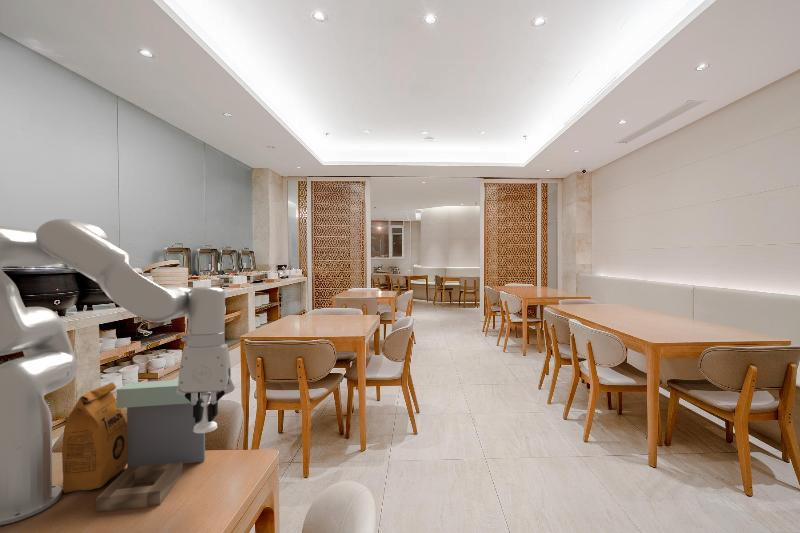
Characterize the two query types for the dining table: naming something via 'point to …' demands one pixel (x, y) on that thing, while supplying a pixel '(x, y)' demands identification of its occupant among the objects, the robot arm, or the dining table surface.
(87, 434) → the coffee package
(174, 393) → the grey green box
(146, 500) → the socket block
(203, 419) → the chess piece
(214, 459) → the dining table surface
